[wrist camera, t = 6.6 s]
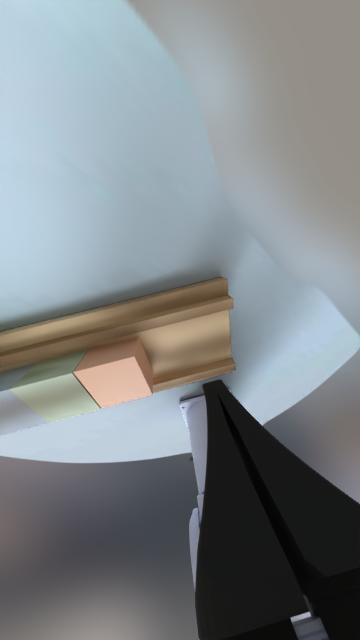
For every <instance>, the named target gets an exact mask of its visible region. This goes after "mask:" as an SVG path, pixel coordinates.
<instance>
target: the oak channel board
mask: <svg viewBox="0 0 360 640" xmlns="http://www.w3.org/2000/svg"><path fill="white" fill-rule="evenodd" d="M229 309H233V298H232V297H230V296H229V295H228V285H227V279H225V278H223V277H220V278H216V279H212V280H208V281H204V282H200V283H196V284H192V285H187V286H183V287H179V288H175V289H171V290H167V291H163V292H159V293H155V294H151V295H147V296H143V297H139V298H135V299H131V300H127V301H123V302H119V303H115V304H111V305H107V306H103V307H99V308H95V309H91V310H87V311H83V312H79V313H75V314H71V315H67V316H63V317H59V318H54V319H50V320H46V321H42V322H38V323H34V324H30V325H26V326H22V327H18V328H14V329H10V330H6V331H2V332H0V436H2V435H6V434H9V433H13V432H17V431H21V430H24V429H28V428H32V427H36V426H39V425H43V424H47V423H51V422H54V421H58V420H62V419H66V418H69V417H73V416H77V415H80V414H84V413H88V412H92V411H95V410H99V409H101V407H100V405H99V404H98V403H97V402H96V400H95V399H94V398H93V397H92V395H91V394H90V393H89V392H88V390H87V389H86V388H85V386H84V385H83V384H82V383H81V381H80V380H79V379H78V378H77V376H76V375H75V374H74V373H73V372H74V370H75V369H76V367H77V366H78V365H79V363H80V362H81V360H82V359H83V357H84V356H85V354H86V353H87V351H88V350H89V349H91V348H95V347H99V346H103V345H107V344H111V343H114V342H118V341H122V340H126V339H130V338H134V337H138V336H139V338H140V341H141V343H142V345H143V348H144V350H145V352H146V355H147V357H148V360H149V362H150V364H151V367H152V369H153V393H156V392H159V391H163V390H167V389H171V388H174V387H178V386H182V385H186V384H189V383H193V382H197V381H201V380H204V379H208V378H212V377H216V376H219V375H223V374H227V373H231V372H232V371H233V370H236V363H235V362H234V361H233V359H232V357H231V339H230V321H229Z"/></svg>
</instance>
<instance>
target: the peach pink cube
mask: <svg viewBox="0 0 360 640" xmlns="http://www.w3.org/2000/svg"><path fill="white" fill-rule="evenodd" d="M73 373H74V374H75V375H76V376H77V378H78V379H79V380H80V381H81V383H82V384H83V385H84V386H85V388H86V389H87V390H88V392H89V393H90V394H91V395H92V397H93V398H94V399H95V400H96V402H97V403H98V404H99V405H100V407H101V408H105V407H109V406H113V405H117V404H120V403H124V402H128V401H132V400H135V399H139V398H143V397H147V396H150V395H153V369H152V367H151V364H150V362H149V360H148V357H147V355H146V352H145V350H144V348H143V345H142V343H141V341H140V338H139V336H138V337H134V338H130V339H126V340H122V341H118V342H114V343H111V344H107V345H103V346H99V347H95V348H91V349H89V350H88V351H87V353H86V354H85V356H84V357H83V359H82V360H81V362H80V363H79V365H78V366H77V367H76V369H75V370H74V372H73Z"/></svg>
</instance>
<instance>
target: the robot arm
mask: <svg viewBox="0 0 360 640" xmlns="http://www.w3.org/2000/svg"><path fill="white" fill-rule="evenodd" d="M202 386H203V391H204V395H203V396H199V397H196V398H192V399H188V400H184V401H181V402H180V403H179V406H180V409H181V412H182V415H183V417H184V420H185V423H186V426H187V429H188V432H189V436H190V442H191V448H192V454H193V460H194V466H195V472H196V478H197V484H198V489H199V495H198V496H197V500H198V506H199V508H195V509H194V510H193V514H192V516H191V519H190V524H189V525H190V526H189V534H190V550H191V562H192V571H193V580H194V588H195V608H196V617H197V625H198V634H199V639H200V640H360V504H359V503H358V502H356V501H355V500H353V499H352V498H351V497H349V496H348V495H346V494H345V493H344V492H342V491H341V490H340V489H338V488H337V487H336V486H334V485H333V484H332V483H330V482H329V481H328V480H326V479H325V478H324V477H322V476H321V475H320V474H319V473H317V472H316V471H315V470H313V469H312V468H311V467H309V466H308V465H307V464H306V463H305V462H303V461H302V460H301V459H300V458H298V457H297V456H296V455H295V454H294V453H292V452H291V451H290V450H289V449H287V448H286V447H285V446H284V445H283V444H281V443H280V442H279V441H278V440H277V439H276V438H275V437H274V436H272V435H271V434H270V433H269V432H268V431H267V430H266V429H265V428H264V427H263V426H262V425H261V424H260V423H259V422H258V421H257V420H256V419H255V418H254V417H253V416H252V415H251V414H250V413H249V412H248V411H247V410H246V409H245V408H244V407H243V406H242V405H241V404H240V403H239V401H238V400H237V399H236V398H235V397H234V396H233V395H232V392H231V390H230V389H228V388H227V387H226V386H225V384H224V383H223V382H222V380H216V381H213V382H209V383H205V384H203V385H202Z"/></svg>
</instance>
